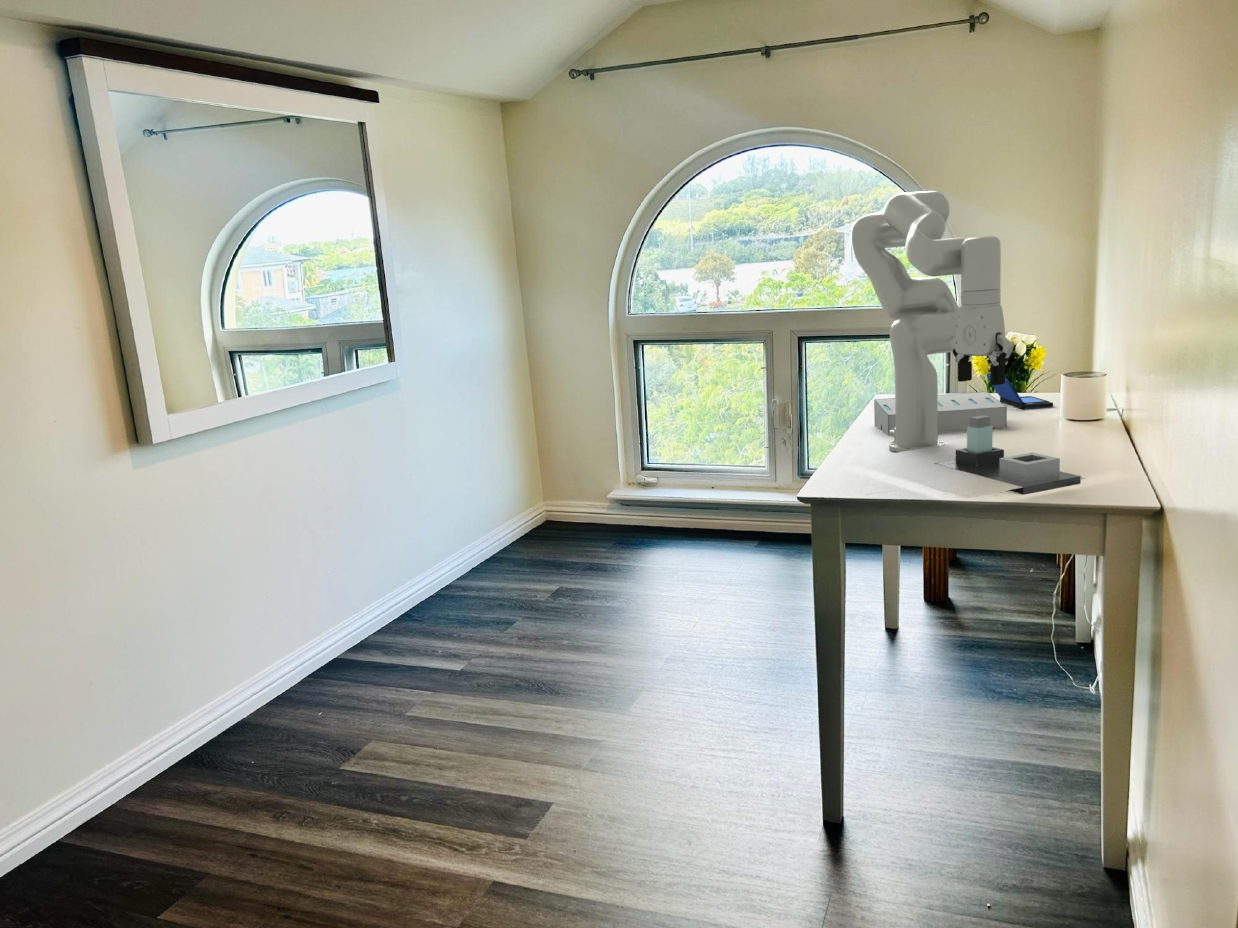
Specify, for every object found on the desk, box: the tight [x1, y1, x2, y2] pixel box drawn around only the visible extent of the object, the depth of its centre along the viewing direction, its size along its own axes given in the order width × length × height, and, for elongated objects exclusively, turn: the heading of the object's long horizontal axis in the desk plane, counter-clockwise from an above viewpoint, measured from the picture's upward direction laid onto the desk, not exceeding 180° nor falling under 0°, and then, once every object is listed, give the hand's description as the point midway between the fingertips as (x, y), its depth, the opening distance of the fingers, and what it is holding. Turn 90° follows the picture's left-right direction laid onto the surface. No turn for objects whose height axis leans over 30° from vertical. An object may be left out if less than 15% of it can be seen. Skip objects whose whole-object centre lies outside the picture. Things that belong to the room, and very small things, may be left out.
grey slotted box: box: [873, 391, 1008, 436], centre depth 251 cm, size 30×14×8 cm, turn 89°
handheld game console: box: [986, 373, 1054, 410], centre depth 273 cm, size 16×13×9 cm
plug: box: [966, 415, 994, 453], centre depth 201 cm, size 3×4×10 cm
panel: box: [933, 446, 1082, 496], centre depth 195 cm, size 26×14×5 cm, turn 21°
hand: (980, 382), depth 198 cm, fingers open, 9 cm apart
